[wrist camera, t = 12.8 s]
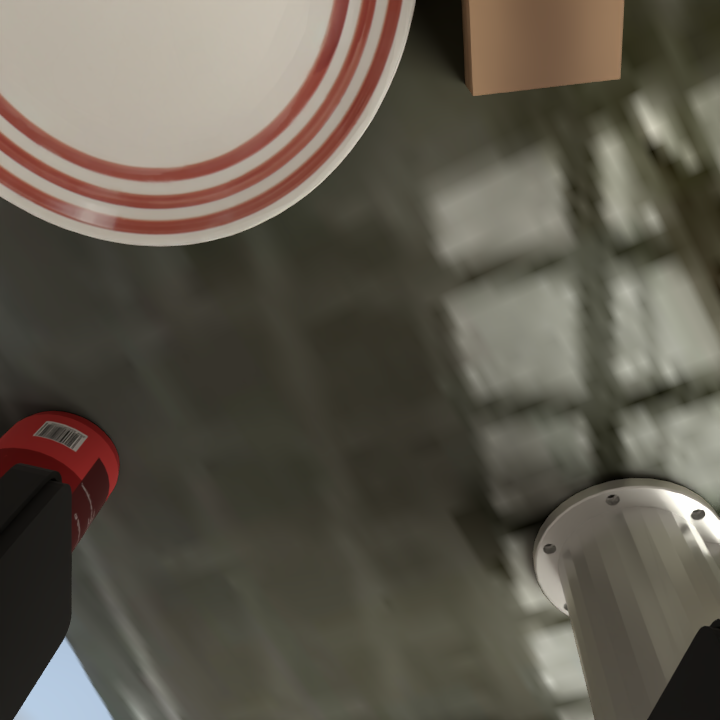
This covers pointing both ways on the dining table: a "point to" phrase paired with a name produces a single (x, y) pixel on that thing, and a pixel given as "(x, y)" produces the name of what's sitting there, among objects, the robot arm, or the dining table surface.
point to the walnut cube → (540, 43)
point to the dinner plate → (185, 108)
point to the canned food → (66, 459)
